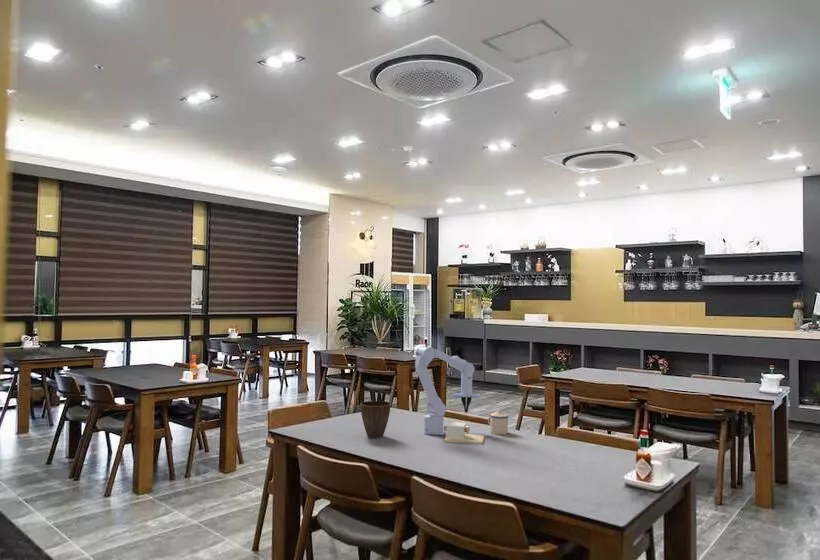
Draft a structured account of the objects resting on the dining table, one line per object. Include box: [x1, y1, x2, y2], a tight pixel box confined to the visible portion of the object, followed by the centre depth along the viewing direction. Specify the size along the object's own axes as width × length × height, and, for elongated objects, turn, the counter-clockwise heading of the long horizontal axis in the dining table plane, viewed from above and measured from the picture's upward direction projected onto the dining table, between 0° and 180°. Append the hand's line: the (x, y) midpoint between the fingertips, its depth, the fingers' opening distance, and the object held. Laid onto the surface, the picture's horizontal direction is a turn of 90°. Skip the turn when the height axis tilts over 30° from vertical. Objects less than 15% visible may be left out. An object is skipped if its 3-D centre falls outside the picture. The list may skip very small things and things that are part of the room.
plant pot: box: [359, 400, 392, 439], centre depth 277 cm, size 15×15×16 cm
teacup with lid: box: [487, 409, 509, 436], centre depth 292 cm, size 12×9×12 cm
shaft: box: [443, 425, 470, 434], centre depth 275 cm, size 12×4×4 cm, turn 80°
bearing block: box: [443, 421, 485, 445], centre depth 274 cm, size 18×14×7 cm
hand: (466, 412), depth 294 cm, fingers closed
